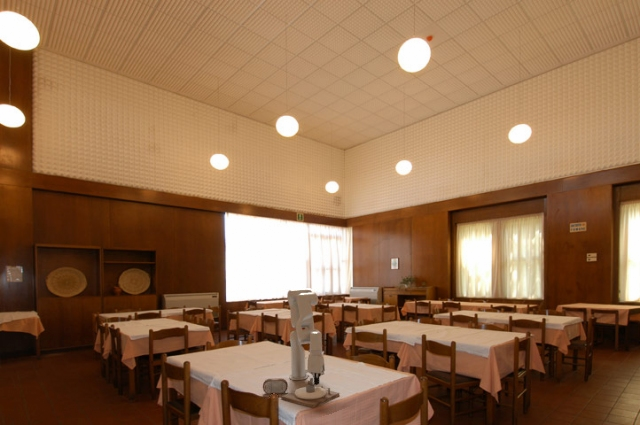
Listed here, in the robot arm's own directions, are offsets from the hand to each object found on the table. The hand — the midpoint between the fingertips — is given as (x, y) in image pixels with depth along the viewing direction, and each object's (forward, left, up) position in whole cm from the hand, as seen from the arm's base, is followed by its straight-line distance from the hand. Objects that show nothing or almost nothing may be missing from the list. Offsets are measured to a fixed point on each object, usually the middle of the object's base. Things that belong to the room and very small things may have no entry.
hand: (316, 384), depth 229 cm
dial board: (+8, +1, -5) cm, 9 cm away
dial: (+8, +1, -3) cm, 9 cm away
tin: (+15, -21, -6) cm, 26 cm away
